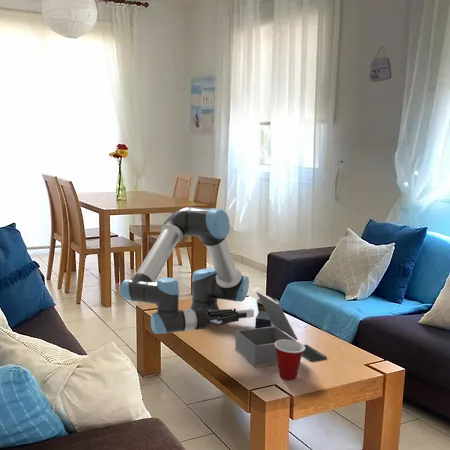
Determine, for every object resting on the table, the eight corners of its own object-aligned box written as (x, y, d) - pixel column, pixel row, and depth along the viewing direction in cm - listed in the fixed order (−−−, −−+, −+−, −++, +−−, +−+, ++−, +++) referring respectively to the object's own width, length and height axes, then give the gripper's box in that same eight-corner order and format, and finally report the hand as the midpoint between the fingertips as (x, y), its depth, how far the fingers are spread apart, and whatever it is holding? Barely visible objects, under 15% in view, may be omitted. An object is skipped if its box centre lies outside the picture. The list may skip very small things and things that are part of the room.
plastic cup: (296, 386, 193) (297, 352, 191) (267, 378, 198) (268, 345, 196) (308, 375, 202) (310, 343, 200) (281, 368, 207) (282, 337, 206)
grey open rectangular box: (235, 350, 225) (235, 330, 223) (273, 345, 231) (274, 326, 230) (254, 367, 208) (255, 346, 207) (295, 361, 215) (296, 340, 213)
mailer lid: (255, 291, 224) (257, 290, 225) (274, 325, 230) (275, 323, 230) (277, 304, 208) (279, 302, 208) (296, 340, 213) (298, 338, 213)
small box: (270, 344, 232) (270, 319, 231) (254, 342, 234) (254, 318, 232) (273, 335, 243) (273, 311, 241) (257, 334, 244) (258, 310, 242)
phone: (306, 344, 231) (327, 357, 217) (306, 347, 231) (327, 359, 217) (289, 346, 227) (310, 360, 214) (289, 349, 227) (310, 362, 214)
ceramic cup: (282, 323, 259) (283, 302, 257) (265, 327, 253) (265, 305, 252) (264, 315, 270) (265, 295, 268) (248, 319, 264) (248, 298, 262)
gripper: (188, 323, 212) (245, 317, 221) (199, 335, 200) (260, 327, 209) (188, 304, 211) (246, 298, 220) (199, 314, 199) (260, 308, 208)
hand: (252, 313), depth 214 cm, fingers closed
